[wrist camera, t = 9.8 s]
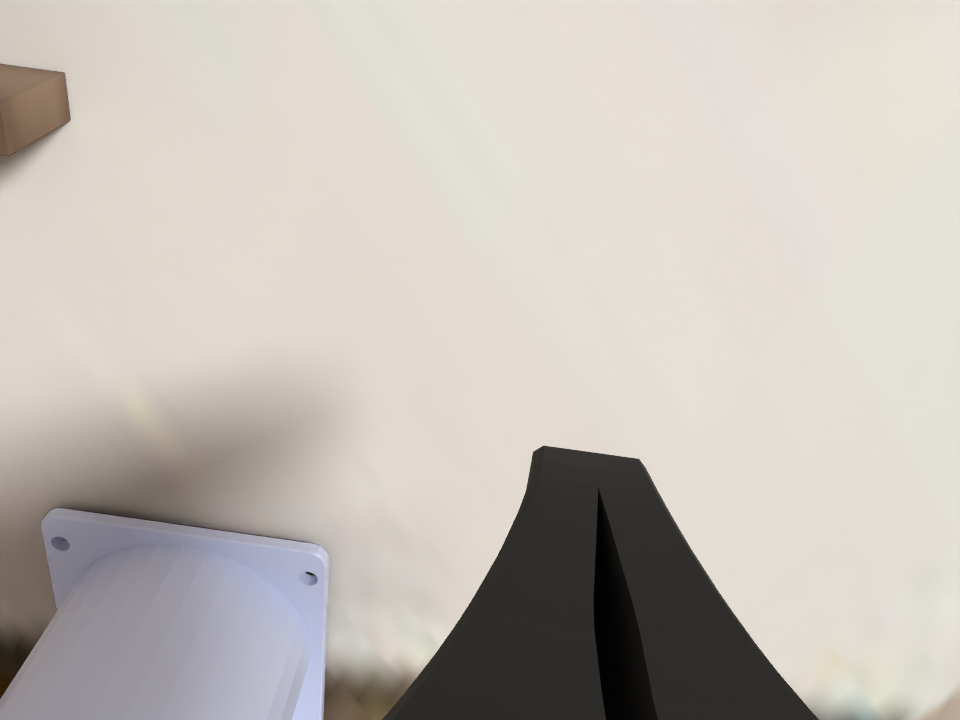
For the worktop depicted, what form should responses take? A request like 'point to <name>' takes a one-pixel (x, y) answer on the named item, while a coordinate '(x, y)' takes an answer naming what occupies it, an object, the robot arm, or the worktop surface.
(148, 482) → the worktop surface
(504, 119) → the worktop surface
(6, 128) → the wooden u-shaped frame
